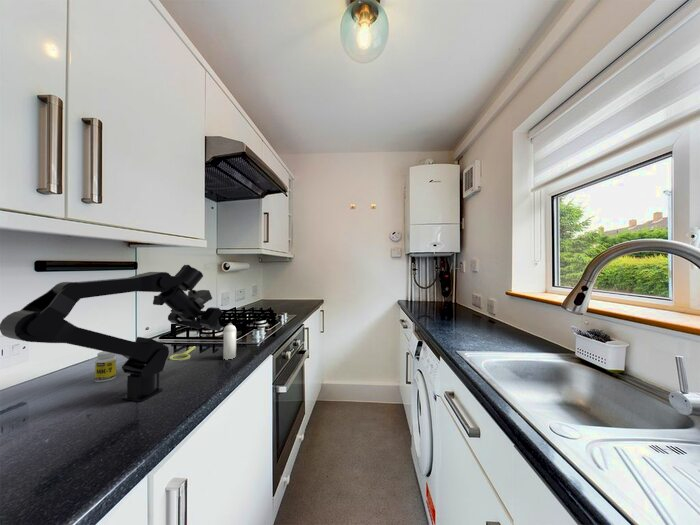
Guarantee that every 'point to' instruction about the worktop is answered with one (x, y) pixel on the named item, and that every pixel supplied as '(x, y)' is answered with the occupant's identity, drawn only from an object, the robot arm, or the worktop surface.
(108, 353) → the supplement bottle
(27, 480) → the worktop surface
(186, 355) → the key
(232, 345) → the white bottle
